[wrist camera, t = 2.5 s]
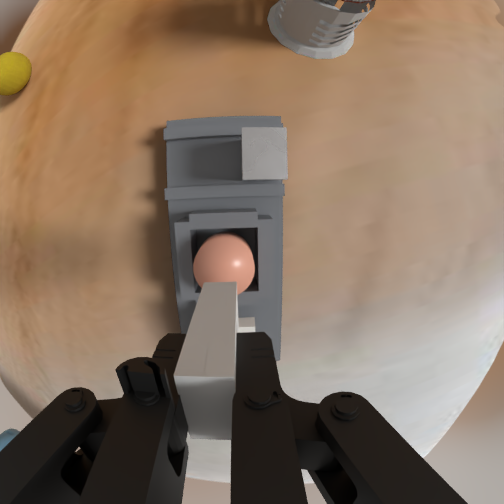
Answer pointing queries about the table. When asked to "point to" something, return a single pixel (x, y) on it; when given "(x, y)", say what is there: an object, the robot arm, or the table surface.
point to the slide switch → (264, 153)
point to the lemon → (13, 72)
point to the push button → (225, 261)
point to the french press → (317, 25)
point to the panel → (224, 214)
